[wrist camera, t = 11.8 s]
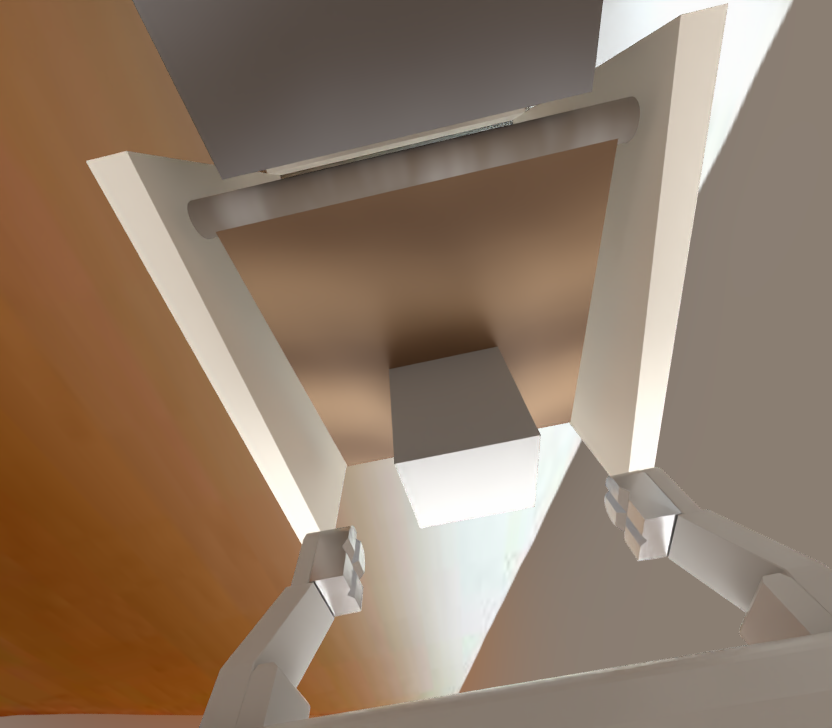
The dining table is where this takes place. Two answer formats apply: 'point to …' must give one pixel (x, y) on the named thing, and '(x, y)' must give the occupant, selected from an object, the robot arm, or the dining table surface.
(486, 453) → the light grey cube
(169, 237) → the frame
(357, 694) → the dining table surface
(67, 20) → the dining table surface
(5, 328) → the dining table surface
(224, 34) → the trapdoor
